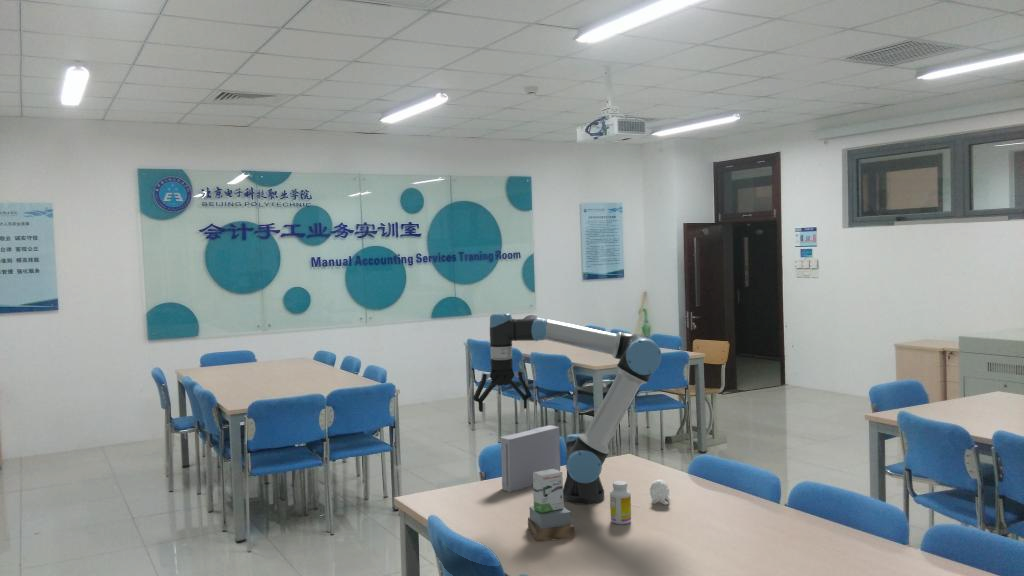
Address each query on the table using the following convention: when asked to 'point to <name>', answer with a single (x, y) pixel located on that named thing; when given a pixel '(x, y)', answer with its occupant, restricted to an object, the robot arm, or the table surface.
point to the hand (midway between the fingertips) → (503, 419)
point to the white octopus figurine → (659, 492)
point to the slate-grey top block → (550, 518)
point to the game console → (528, 456)
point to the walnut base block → (550, 531)
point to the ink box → (548, 490)
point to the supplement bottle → (620, 503)
